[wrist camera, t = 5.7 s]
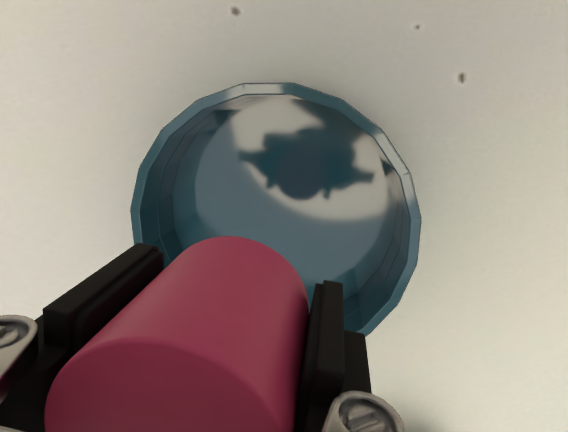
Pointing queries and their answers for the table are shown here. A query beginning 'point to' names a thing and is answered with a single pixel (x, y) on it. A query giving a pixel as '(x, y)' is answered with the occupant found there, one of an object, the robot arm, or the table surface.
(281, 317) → the pink cylinder block
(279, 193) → the bowl
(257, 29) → the table surface
